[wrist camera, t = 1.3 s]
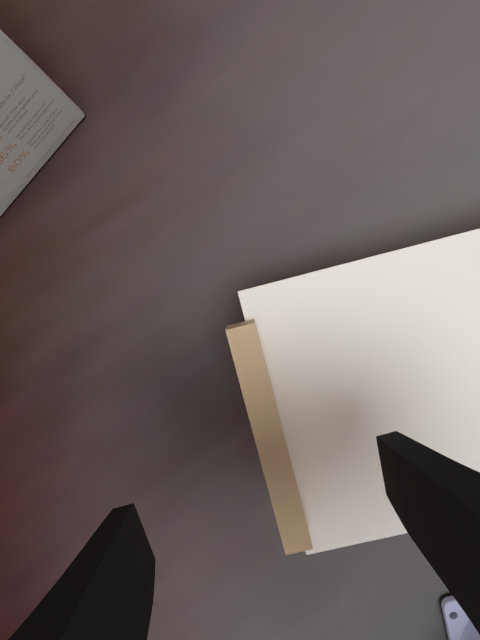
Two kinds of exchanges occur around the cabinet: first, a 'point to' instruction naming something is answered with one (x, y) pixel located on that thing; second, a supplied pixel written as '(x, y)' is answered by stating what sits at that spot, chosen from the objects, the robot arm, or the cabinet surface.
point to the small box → (28, 120)
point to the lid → (359, 382)
